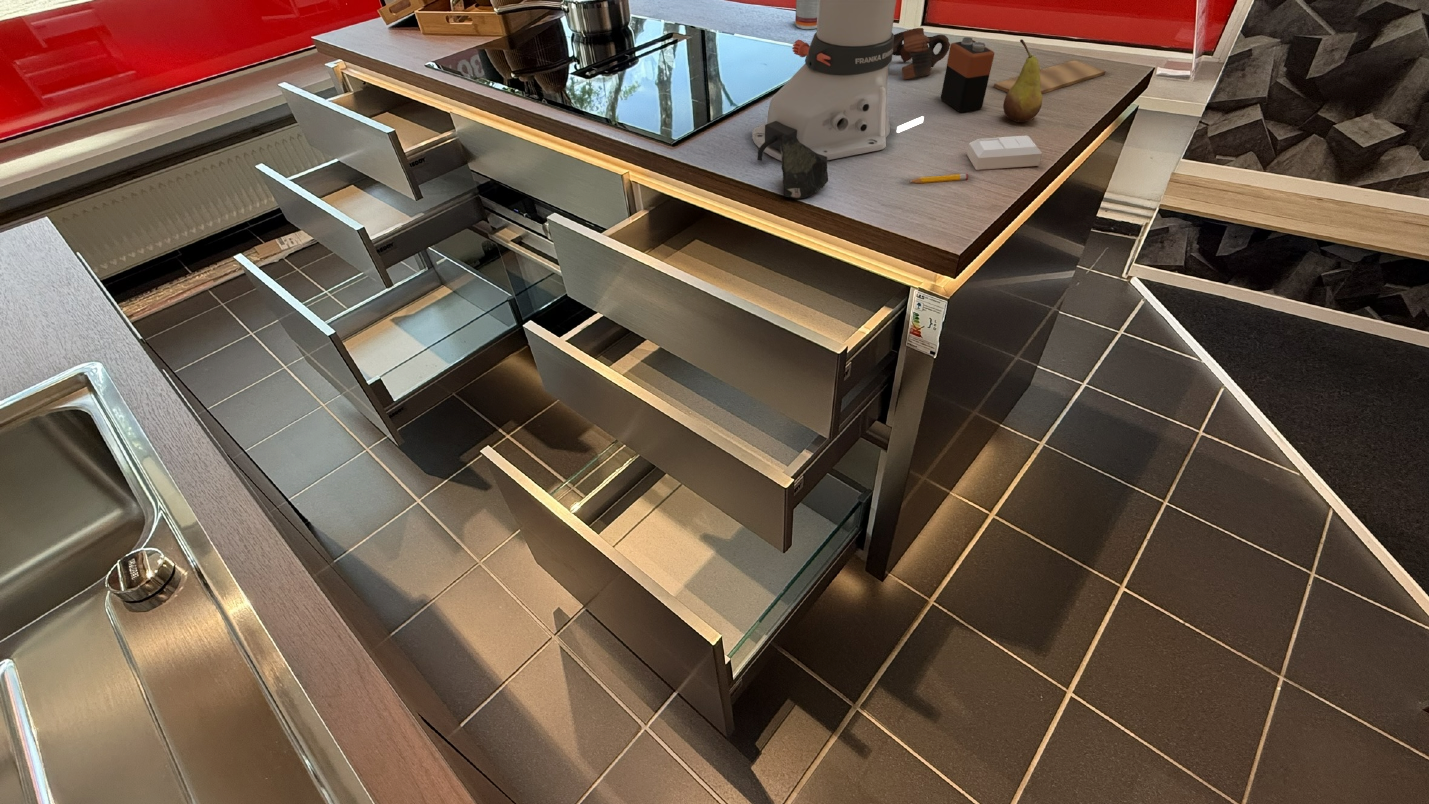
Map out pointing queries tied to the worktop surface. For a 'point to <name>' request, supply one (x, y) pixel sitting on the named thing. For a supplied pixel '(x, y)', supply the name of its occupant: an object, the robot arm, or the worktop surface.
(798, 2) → the pill bottle
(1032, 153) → the soap bar
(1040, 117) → the worktop surface
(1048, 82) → the wooden board
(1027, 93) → the fruit
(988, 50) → the battery
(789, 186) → the rock
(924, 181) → the pencil
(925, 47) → the pottery mug
